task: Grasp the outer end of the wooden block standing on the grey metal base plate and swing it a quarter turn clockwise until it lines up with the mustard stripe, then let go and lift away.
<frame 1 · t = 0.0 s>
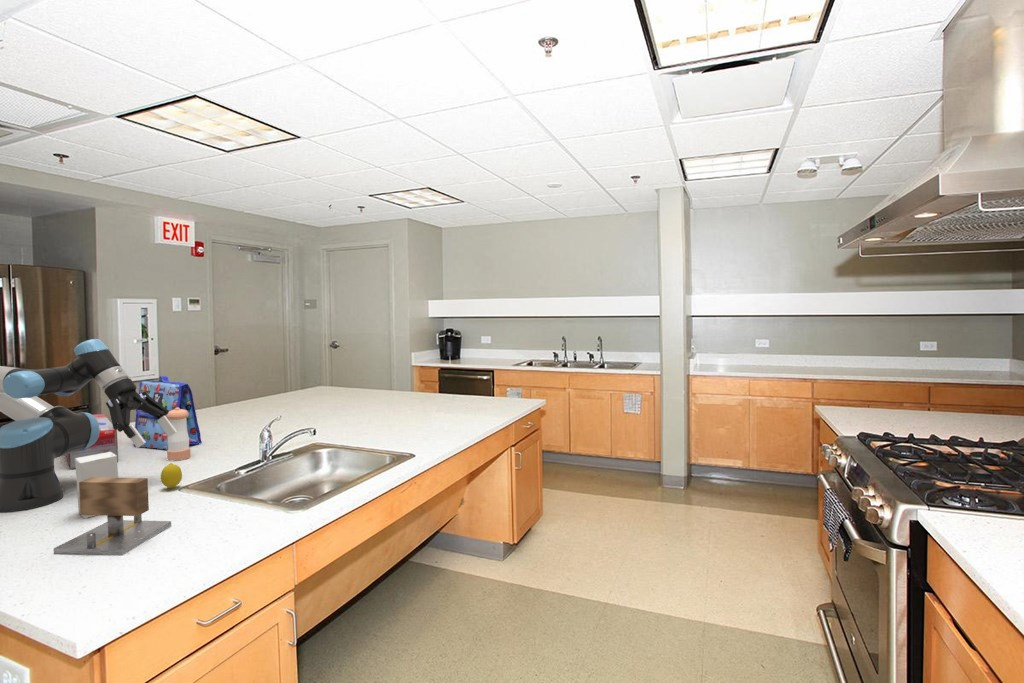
hand: (158, 439, 160), 15 cm above the countertop, tool tilted 35°, fingers open, 13 cm apart
pink and white bottle: (179, 458, 193), on the countertop
lunch bag: (168, 445, 211), on the countertop
soda box: (89, 455, 197), on the countertop
wooden block: (114, 496, 124), point 10 cm above the countertop, hinge at 0.0°
lemon: (171, 489, 160), on the countertop
skincare box: (99, 512, 141), on the countertop
base plate: (116, 538, 125), on the countertop
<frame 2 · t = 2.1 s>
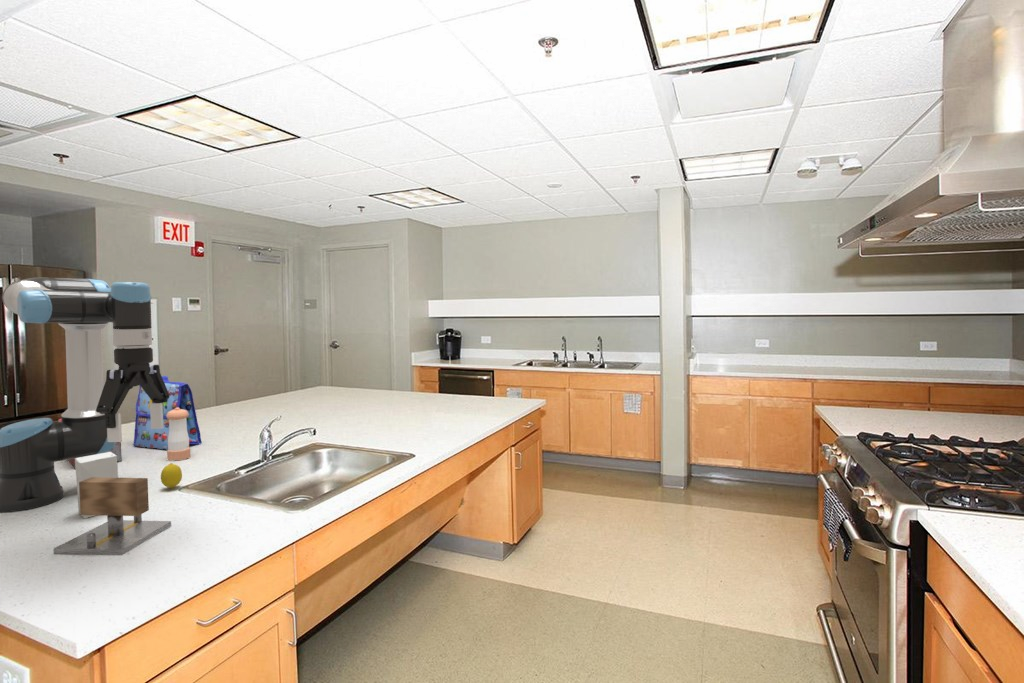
hand: (137, 435, 124), 25 cm above the countertop, tool pointing down, fingers open, 13 cm apart
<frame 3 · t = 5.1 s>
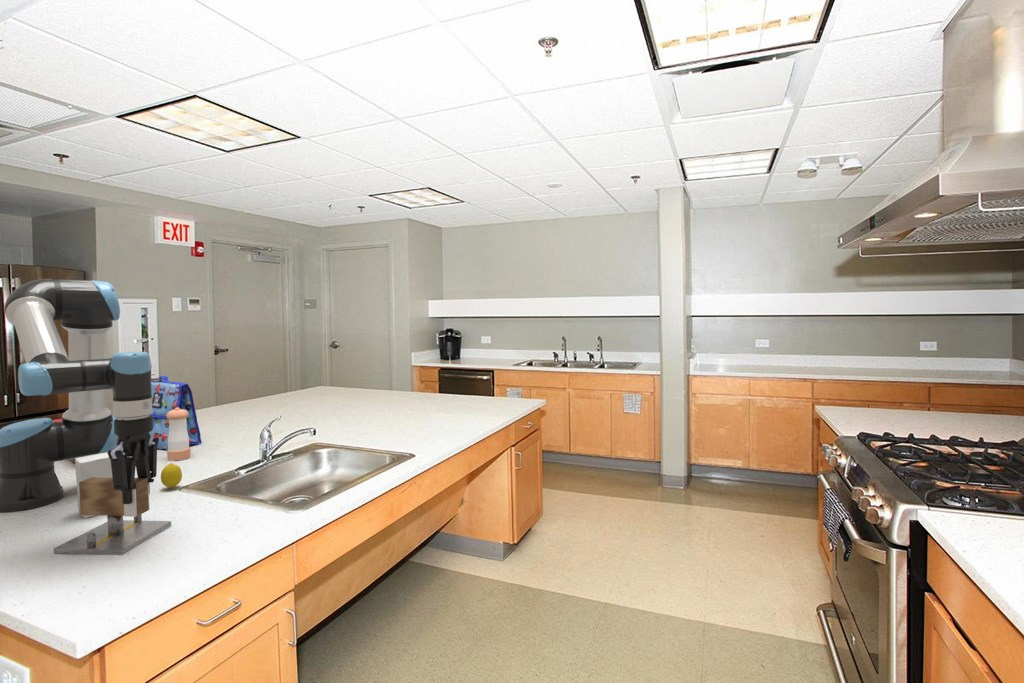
hand: (137, 512, 124), 7 cm above the countertop, tool pointing down, fingers closed on wooden block, 3 cm apart
wooden block: (114, 496, 124), point 10 cm above the countertop, hinge at 0.0°, touching gripper
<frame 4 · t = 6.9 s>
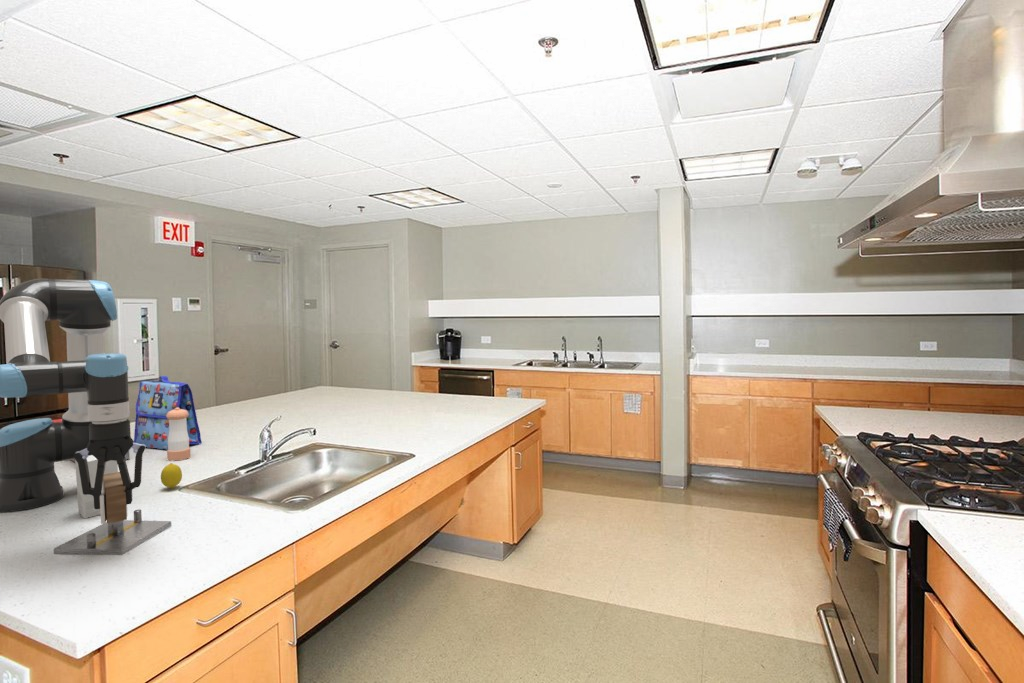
hand: (114, 519, 120), 7 cm above the countertop, tool pointing down, fingers closed on wooden block, 3 cm apart
wooden block: (114, 496, 124), point 10 cm above the countertop, hinge at -47.5°, touching gripper
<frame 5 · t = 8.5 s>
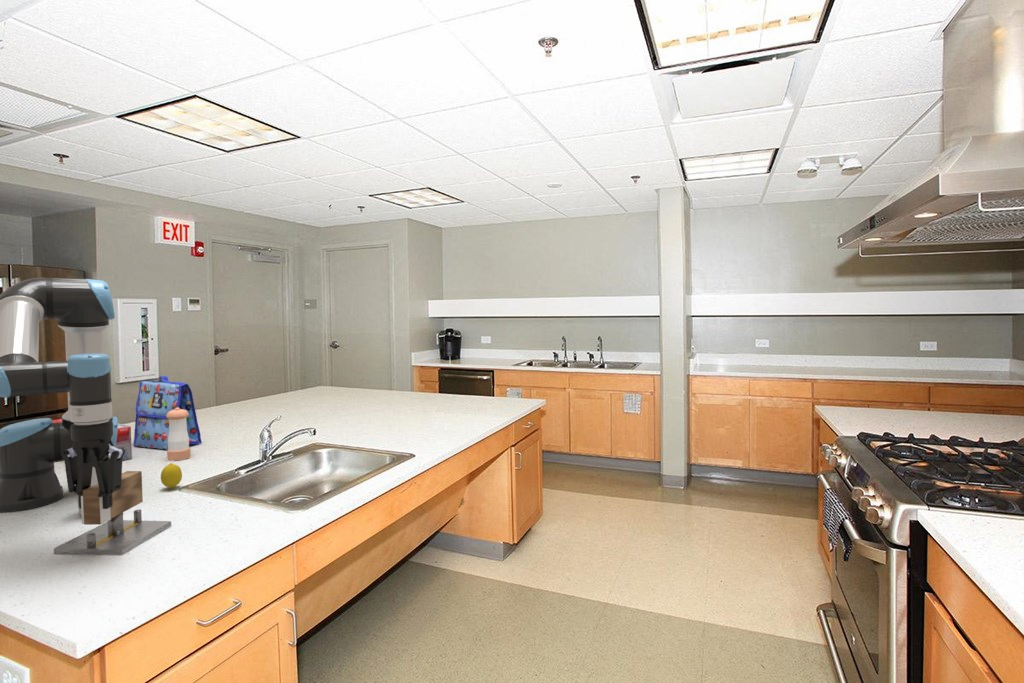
hand: (96, 521, 119), 7 cm above the countertop, tool pointing down, fingers closed on wooden block, 3 cm apart
wooden block: (114, 496, 124), point 10 cm above the countertop, hinge at -86.7°, touching gripper
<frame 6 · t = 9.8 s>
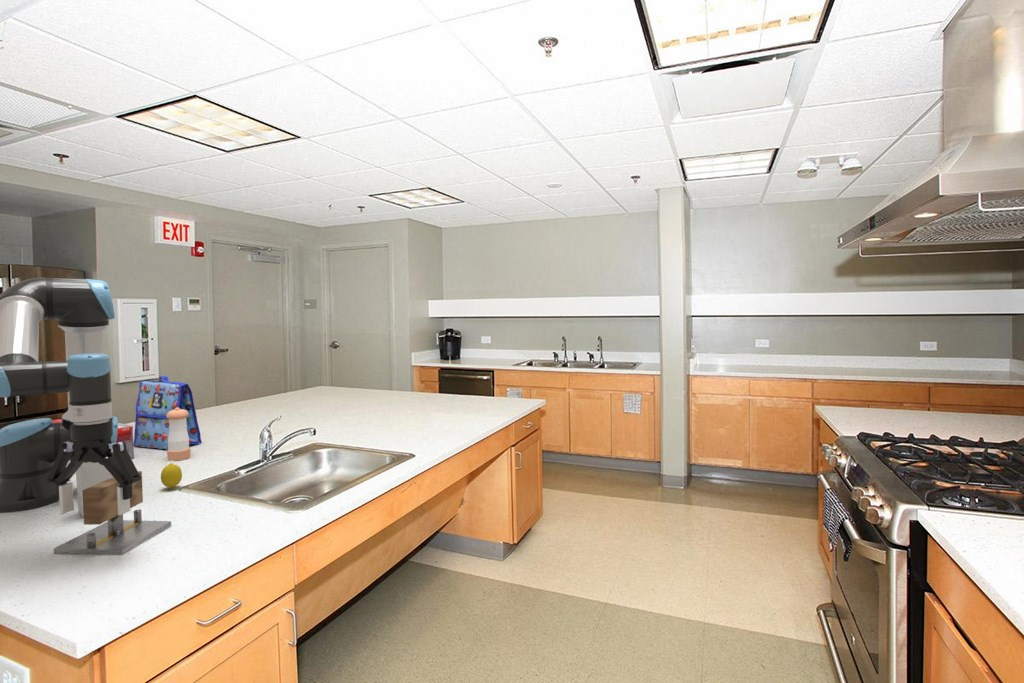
hand: (95, 512, 119), 9 cm above the countertop, tool pointing down, fingers open, 13 cm apart
wooden block: (114, 496, 124), point 10 cm above the countertop, hinge at -87.2°
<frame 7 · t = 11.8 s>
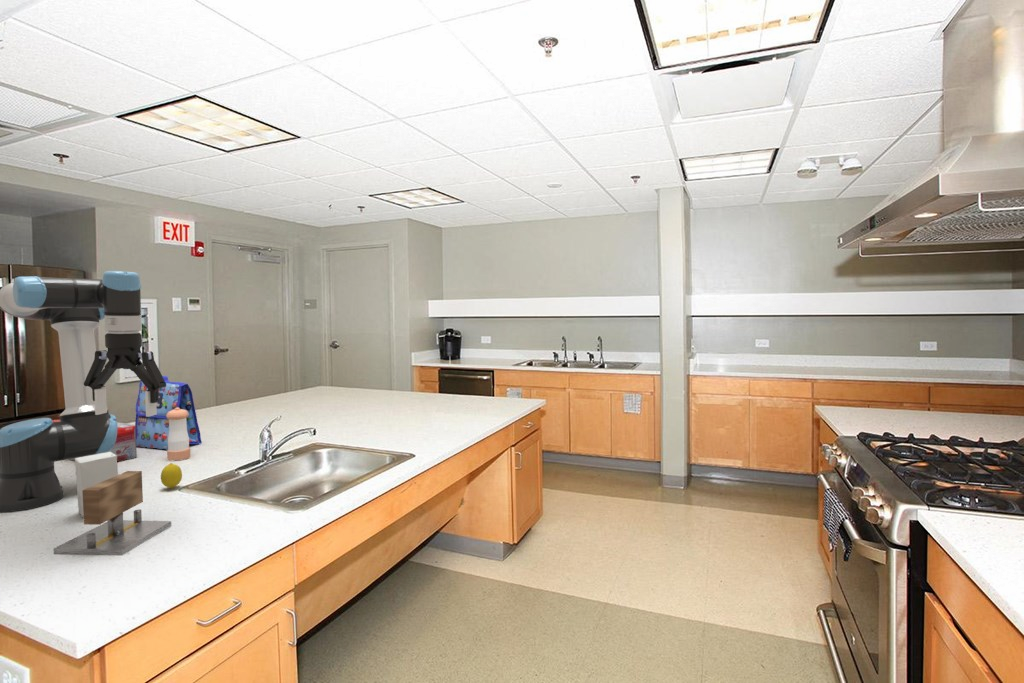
hand: (126, 414, 133), 28 cm above the countertop, tool pointing down, fingers open, 13 cm apart
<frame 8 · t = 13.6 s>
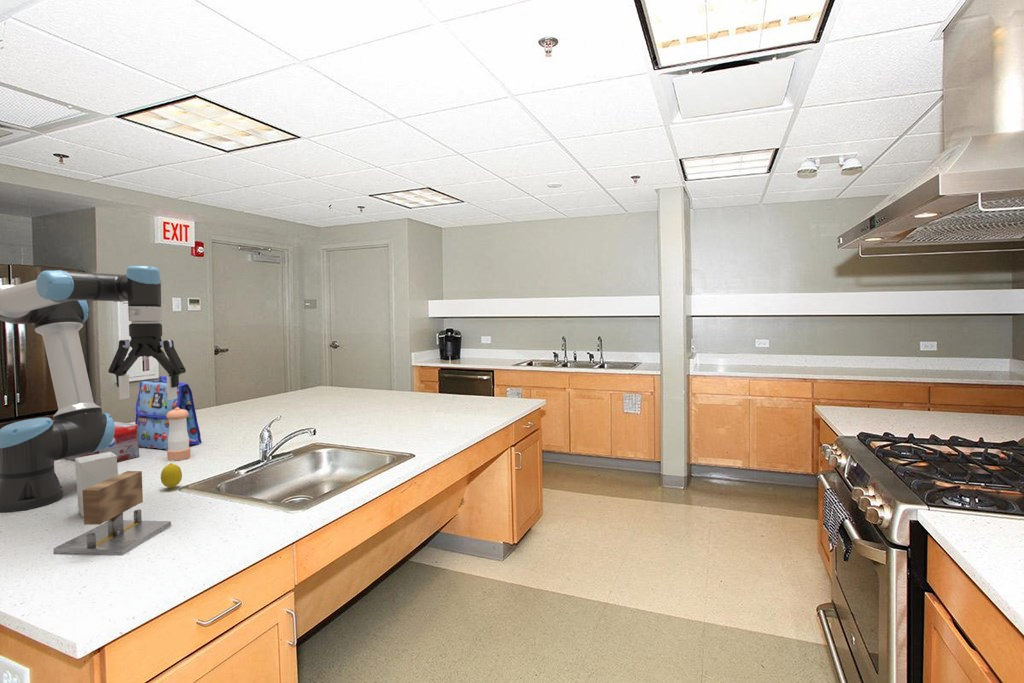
hand: (148, 399, 143), 31 cm above the countertop, tool pointing down, fingers open, 13 cm apart
at the end: wooden block at -87° (first picture: +0°); the gripper is holding nothing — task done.
